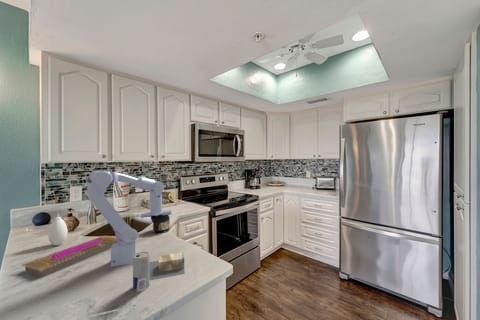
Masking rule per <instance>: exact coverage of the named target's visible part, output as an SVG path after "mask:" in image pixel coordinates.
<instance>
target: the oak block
mask: <svg viewBox="0 0 480 320" xmlns="http://www.w3.org/2000/svg"><path fill="white" fill-rule="evenodd" d="M158 261H159V272H164V271H169V270H175V269H180V268H184V269H185V253H184V251H182V252H176V253H171V254H170V253H169V254H164V255H159V259H158Z"/></svg>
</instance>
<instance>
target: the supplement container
mask: <svg viewBox="0 0 480 320" xmlns="http://www.w3.org/2000/svg"><path fill="white" fill-rule="evenodd" d="M170 216H171V215H162V219H161V221H160V224H159V228H158V230H156V231H155V226H154V224H153V223H152V231H153V233H156V234H157V233H159V234H161V233H165V232H168V231H169V230H170V229H171V226H170V225H171V224H170V221H171V220H170V219H171V217H170ZM156 223H157V216H156Z"/></svg>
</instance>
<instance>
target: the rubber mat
mask: <svg viewBox="0 0 480 320" xmlns="http://www.w3.org/2000/svg"><path fill="white" fill-rule="evenodd" d="M185 273H186V272H185V267H184V268H180V269H175V270H169V271H164V272H159V260H155V261H150V281H152V280H153V281H154V280H158V279H164V278H170V277H173V276H174V277H175V276H180V275H184V274H185Z"/></svg>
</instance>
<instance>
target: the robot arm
mask: <svg viewBox="0 0 480 320" xmlns="http://www.w3.org/2000/svg"><path fill="white" fill-rule="evenodd" d="M116 182H121V183H125V184H130V185H134V187H135V188H136V189H140V190H145V191H149V201H150V202H149V205H150V206H149V207H150V211H148V212H142V213H140V218H141V219H144V218H150V219H151V222H152V225H153V224H154V226H155V231H156V230H158V228H159V224H160V221H161V219H162V215H169V216H171V215H172V210H171V209H170V210H167V209H166V210H163V190H165V189H164V188H165V185H164V184H163V182H162V181H160V180H155V178H147V176H146V175H142V176H138V177H133V176H131V175H127V174H124V173H121V172H120V173H119V172H115V171H108V170H94V171H91V172H90V173H89V175H88V177H87V178H86V184H87V185H86V187H87V188H86V193H87V195H86V196H87V198H88V200H89V201H90V202H91V203H92V204H93V206H94V207H95V208H96V210H97V211H98V212H99V213H100V214H101V215H102V216H103V218H104V219H105V220H106V222H107V223H108V224H109V225H110V226H111V227H112V231H114V235H115V236H114V237H115V238H118V241H117V243H114V244H113V245H112V247H111V249H110V266H109V267H118V266H122V265H130V264H133V257H134V255H135V254H136V240H137V239H138V235H139V233H138V231H137V230H136V229H134V228H132V227H131V226H130V225H129V224H128V223H127V222H126V221H125V220H124V219H123V218H122V216H121V215H120V214H119V212H118V211H117V210H116V209H115V207H114V206H113V205H112V204H111V202H110V201H109V200H108V199H107V197H106V196H105V192H106V190H107V189H108V187H109V186H110V184H111V183H116ZM156 216H157V223H156Z"/></svg>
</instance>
